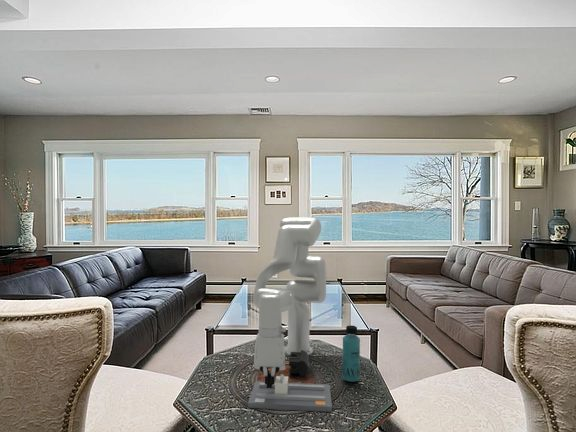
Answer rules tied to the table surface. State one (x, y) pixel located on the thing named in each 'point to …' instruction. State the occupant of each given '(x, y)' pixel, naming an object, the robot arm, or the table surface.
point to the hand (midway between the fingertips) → (269, 386)
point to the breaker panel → (292, 397)
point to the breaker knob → (281, 385)
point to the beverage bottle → (351, 355)
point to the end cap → (298, 364)
